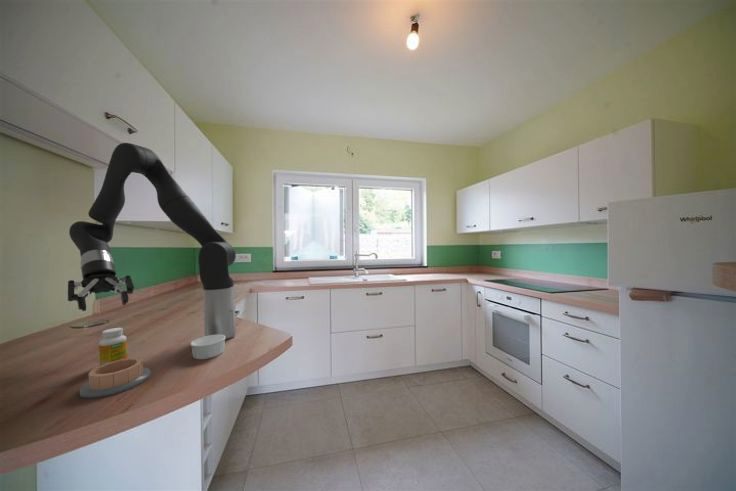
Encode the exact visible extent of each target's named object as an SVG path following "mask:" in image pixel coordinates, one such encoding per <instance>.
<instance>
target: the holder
mask: <svg viewBox="0 0 736 491" xmlns="http://www.w3.org/2000/svg"><path fill="white" fill-rule="evenodd" d="M150 377H151V368H149V367H146V366H144V360H143V359H142V358H141V357H130V358H129V357H127V359H122V360H117V361H114V362H110V363H107V364H104V365H101V366H100V365H99V366H97V367H95V368H93V369H92V370H91V371H89V372H88V381H87V382H86V383H84V384H83V385H82V386H81V387H80V388H79V397H81V398H82V397H83V398H82V399H100V398H104V397H109V396H113V395H116V394H120V393H123V392H126V391H128V390H131V389H133V388H135V387H137V386H139V385H141V384H143V383H144V382H146V381H147V380H148V379H150Z"/></svg>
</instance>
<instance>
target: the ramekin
mask: <svg viewBox="0 0 736 491" xmlns="http://www.w3.org/2000/svg"><path fill="white" fill-rule="evenodd" d="M225 338H226V337H225V336H224V335H209V336H205V335H204V336H200V337H198V338H196V339H193V340H192V341H191V342H190V344H189V345H190V347H191V353H192V357H193V359H195V360H207V359H208V360H209V359H212V358H215V357H217V356H220V355H221V354H223V353H224V351H225V342H226V341H225V340H226V339H225Z"/></svg>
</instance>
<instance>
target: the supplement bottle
mask: <svg viewBox="0 0 736 491" xmlns="http://www.w3.org/2000/svg"><path fill="white" fill-rule="evenodd" d="M123 333H124V330H123V327H115V328H108V329H105V330H103V331H102V334H101V335H102V336H101V337H102V339H101V340H100V341H99V343H98V348H99V349H98V350H99V351H98V352H99V355H98V356H99V366H101V365H104V364H107V363H110V362H114V361H117V360H122V359H128V340H127V339H128V338H127V336H126V335H124V334H123Z"/></svg>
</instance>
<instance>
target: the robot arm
mask: <svg viewBox="0 0 736 491" xmlns="http://www.w3.org/2000/svg"><path fill="white" fill-rule="evenodd" d="M132 173H136V174H140V175H142V176H143V177H145V178H146V179H147V180H148V181H149V182H150V183H151V185H152V186H153V188H155V191H156V197H157V203H158V205H159V208H160V209H161V211H162V212H163V213H164V214H165V215H166V216H167V217H168V218H169V220H170V221H171V222H172V223H173V224H174V225H175V226H176V227H178V228H179V229H180V230H182V231H183V232H185V233H186V234H187V235H189V236H191V237H192V238H193V239H195V241H197V242H198V244H199V245H200V246H201V248H200V249H199V252H198V272H199V278H200V283H202V289H203V290H202V291H203V292H202V293H203V320H204V337H205V336H209V335H224V336H225V337H226V338H225V340H227V339H230V338H235V336H236V331H237V327H236V326H237V322H236V321H237V320H236V306H235V298H234V297H235V292H234V290H235V288H234V279H233V277H231V276H230V274H229V267H230V266H231V265H232V264H233V263H234V262H235V261H236V251H235V248H234V247H233V246H232V245H231V243H230V242H229V241H228V240H226V238H224V237H223V236H222V235H221V234H220V233H219V232H218V231H217V229H215V227H214V226H213V225H212V224H211V222H210V221H209V220H208V219H207V217H206V216H205V215H204V213H203V212H202V211H201V210H200V208H199V207H198V206H197V205H196V204H195V202H194V201H193V200H192V199H191V198H190V197H189V195H188V194H187V193H186V192H185V191H184V189H183V188H182V187H181V186H180V185H179V183H178V182H177V181H176V180H175V178H174V177H173V176H172V175H171V173H170V172H169V170H168V169H167V168H166V166H165V163H163V161H162V159H160V157H159V155H157V153H156V152H154V151H153V150H152V149H150V148H147V147H144V146H141V145H137V144H134V143H131V142H122V143H120V144H118V145H117V146H115V148H114V149H113V151H112V154H111V156H110V159H109V163H108V166H107V168H106V172H105V176H104V180H103V182H102V185H101V189H100V190H99V192H98V195H97V196H96V198H95V200H94V202H93V203H92V205H91V207H90V208H89V211H88V214H87V215H88V217H89V218H91V219H92V220H93V221H97V223H94V222H90V221H84V220H83V221H82V220H81V221H75V222H73V223H72V224H71V225H70V227H69V230H68V233H69V236H70V239H71V241H72V242H73V244H74V245H75V246H76V247H77V249H78V250H79V253H80V270H81V277H82V280H81V281H75V280H73V279H70V280H68V282H67V301H68V302H72V301H76V302H77V308H78V310H81V311H82V312H86V311H87V303H86V298H88V297H90V296H91V295H92V294H93V293H94V294H101V293H109V292H112V293H113V294H118V295H119V296H120V300H121V304H122V306H125V305H127V304H128V302H129V294H130V295H131V294H133V293H134V290H135V285H134V282H133V280H132V278H131V275H125V277H119V276H118V275H117V273H116V272H117V271H116V267H115V262H114V258H113V257H112V254H111V249H110V245H109V244H108V243H110V241H112V239H113V236H114V228H115V223H116V221H117V218H118V217H119V215H120V213H121V212H122V209H123V208H124V207H125V204H126V203H125V202H126V196H125V194H126V193H125V183H126V180H127V179H128V177H129V176H130V175H131V174H132ZM99 223H101V224H99ZM122 284H123V285H124V286H126V287H124V286H123V285H122ZM79 287H82V288H83V289H82V290H81V291H80V292H79V293H75V291H76V290H77V289H78V288H79Z"/></svg>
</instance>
